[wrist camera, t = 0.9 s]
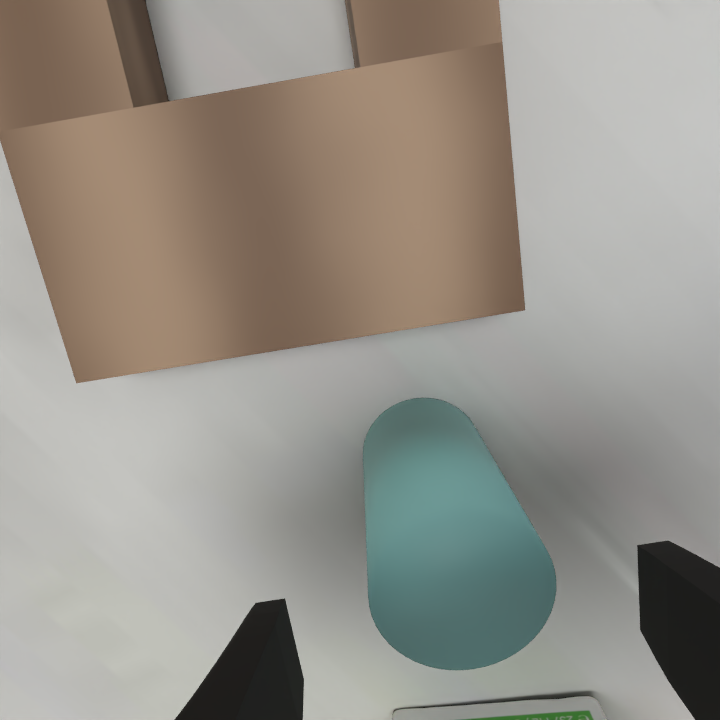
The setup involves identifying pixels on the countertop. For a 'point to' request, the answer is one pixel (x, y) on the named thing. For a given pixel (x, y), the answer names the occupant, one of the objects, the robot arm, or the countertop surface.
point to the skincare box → (512, 711)
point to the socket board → (259, 185)
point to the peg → (448, 542)
